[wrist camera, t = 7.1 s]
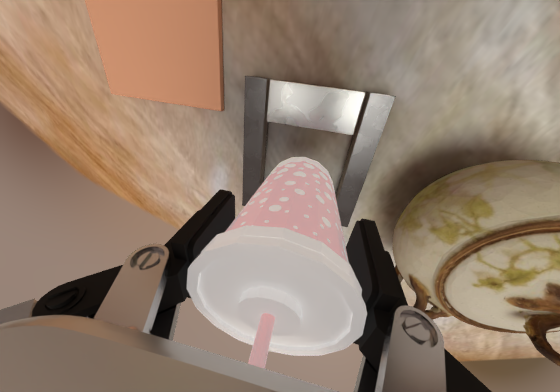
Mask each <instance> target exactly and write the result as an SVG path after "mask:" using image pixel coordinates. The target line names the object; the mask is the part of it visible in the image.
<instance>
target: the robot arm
mask: <svg viewBox="0 0 560 392" xmlns="http://www.w3.org/2000/svg"><path fill="white" fill-rule="evenodd" d="M234 220H235V196H234V195H232V192H231V191H226V190H219V191H218V192H217V193H216V194H215V195H214V196H213V197H212V198H211V199H210V201H209V202H208V203H207V204H206V205H205V206H204V207H203V208H202V209H201V210H199V211H197V212H196V213H195V214H194V215H193V216H192V217H191V218H190V219H189V220H188V221H187V222H186V223H185V225H184V226H183V227H182V228H181V229H180V230H179V231H178V232H177V233H176V234H175V235H174V236H173V237H172V238H171V239H170V240H169V241H168V242H167V243H166V244H165V245H161V244H149V245H146V246H143V247H140V248H139V249H137V250H135V251H134V252H132V253H131V254H130V255H129V256H128V258H127V259H126V261H125V263H124V264H123V265H121V266H118V267H114V268H112V269H108V270H105V271H102V272H99V273H96V274H93V275H89V276H86V277H83V278H80V279H77V280H74V281H71V282H67V283H65V284H63V285H60V286H58V287H56V288H54V289H53V290H51V291H49V292H48V293H47V294H45V295H44V296H43V297H42V298H41V299H40V300H39V301H36V300H35V299H32V300H29V301H26V302H23V303H20V304H17V305H14V306H11V307H7V308H4V309H2V310H0V392H338V391H335V390H332V389H329V388H325V387H322V386H319V385H316V384H312V383H309V382H306V381H302V380H299V379H296V378H293V377H290V376H287V375H283V374H280V373H277V372H274V371H270V370H267V369H264V368H260V367H257V366H254V365H251V364H247V363H244V362H241V361H238V360H234V359H231V358H227V357H224V356H221V355H218V354H214V353H211V352H208V351H204V350H201V349H198V348H195V347H191V346H188V345H184V344H181V343H178V342H174V341H173V336H174V332H175V328H176V323H177V318H178V314H179V309H180V305H181V302H183V301H185V299H186V298H187V297H188V298H191V296H190V294H189V292H188V290H187V289H186V288H187V274H188V268H189V266H190V265H191V264H192V262H193V261H194V260H195V259H196V258H197V257H198V256H199V255H200V254H201V251H202V250H203V249H204V248H205V247H206V246H207V245H208V244H209V243H210V242H211V241H212V239H213V238H214V237H215V236H216V235H217V234H220V233H224V232H225V231H226V230H227V229H228V227H229V226H230V225H231V223H232V222H233V221H234ZM346 251H347V256H348V261H349V264H350V265H351V267H352V269H353V272H354V274H355V276H356V278H357V280H358V282H359V284H360V286H361V288H362V298H363V300H364V303H365V305H366V310H367V317H366V321H365V326H364V330H363V335H362V336H361V337H359V338H358V339H357V340H356V341H354V342H353V343H355V344H358V345H359V350H360V351H361V352H362V354H363V358H362V361H361V365H360V369H359V374H358V377H357V381H356V385H355V389H354V392H491V391H490V390H489V389H488V388H487V387H486V386H485V385H484V384H483V383H482V382H480V381H479V380H478V379H477V378H476V377H475V376H474V375H473V374H472V373H471V372H470V371H468V370H467V369H466V368H465V367H464V366H463V365H462V364H461V363H460V362H459V361H458V360H456V359H455V358H454V357H453V356H452V355H451V354H450V353H449V352H448V351H447V350H445V349H444V341H443V336H442V334H441V332H440V330H439V328H438V326H437V325H436V324H435V323H434V321H433V320H432V319H431V318H430V317H429V316H428V315H426V314H425V313H424V312H422V311H421V310H419V309H417V308H414V307H412V306H408V304H407V301H406V298H405V295H404V293H403V290H402V287H401V284H400V281H399V279H398V276H397V273H396V270H395V267H394V264H393V262H392V259H391V256H390V254H389V252H387V251H385V250H384V247H383V244H382V241H381V238H380V235H379V232H378V229H377V226H376V223H375V221H371V220H367V219H361V221H357V222H356V224H355V226H354V229H353V231H352V233H351V236H350V238H349V241H348V243H347V246H346Z"/></svg>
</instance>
